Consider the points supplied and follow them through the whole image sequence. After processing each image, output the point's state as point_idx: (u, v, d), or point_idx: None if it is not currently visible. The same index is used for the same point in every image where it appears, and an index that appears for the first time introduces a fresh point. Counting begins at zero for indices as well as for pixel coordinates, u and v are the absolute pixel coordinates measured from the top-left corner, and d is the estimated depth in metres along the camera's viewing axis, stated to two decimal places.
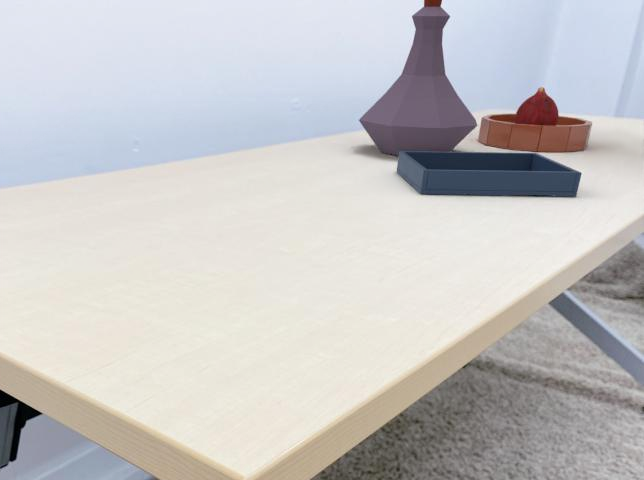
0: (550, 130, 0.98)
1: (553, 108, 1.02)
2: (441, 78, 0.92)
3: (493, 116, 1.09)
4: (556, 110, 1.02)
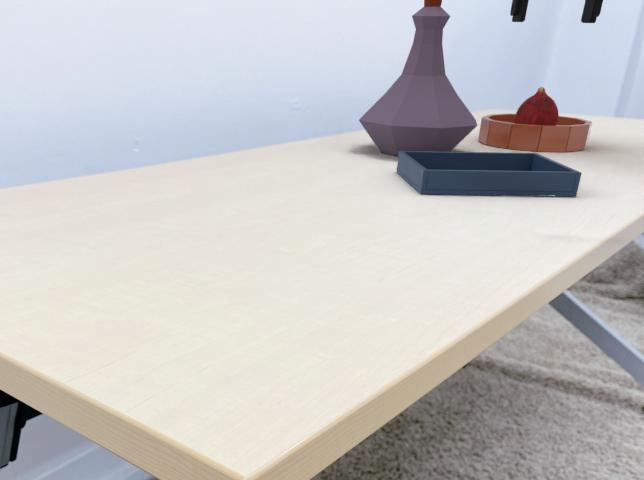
0: (550, 130, 0.98)
1: (553, 108, 1.02)
2: (441, 78, 0.92)
3: (493, 116, 1.09)
4: (556, 110, 1.02)
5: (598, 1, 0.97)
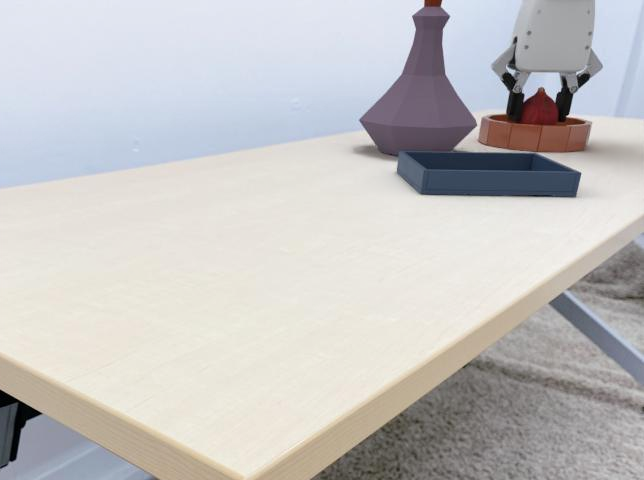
0: (550, 130, 0.98)
1: (553, 108, 1.02)
2: (441, 78, 0.92)
3: (493, 116, 1.09)
4: (556, 110, 1.02)
5: (567, 103, 1.02)
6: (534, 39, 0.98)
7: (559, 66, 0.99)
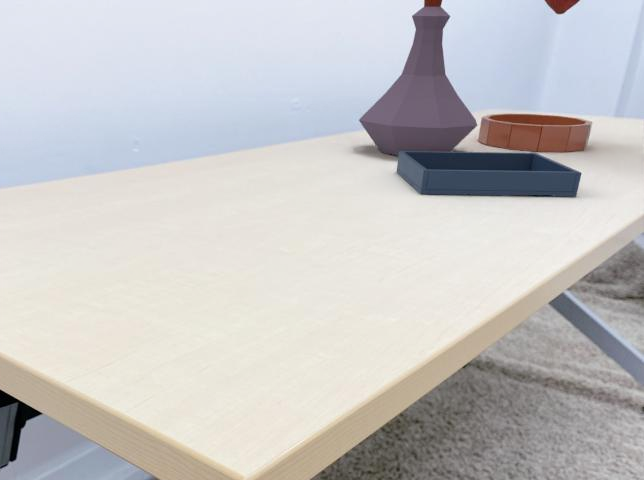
0: (550, 130, 0.98)
1: None
2: (441, 78, 0.92)
3: (493, 116, 1.09)
4: None
5: None
6: None
7: None
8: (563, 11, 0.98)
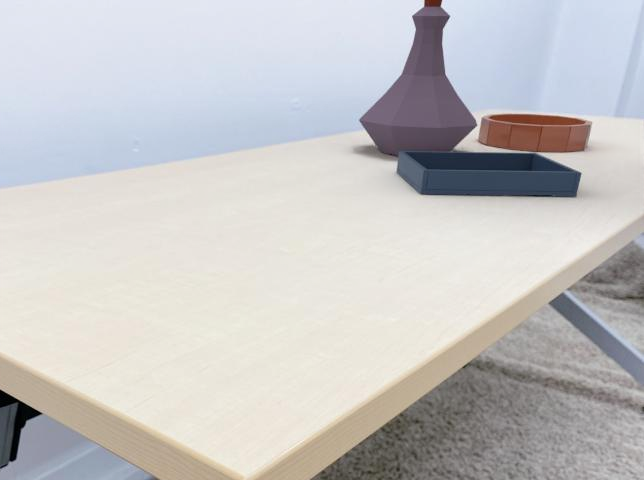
0: (550, 130, 0.98)
1: None
2: (441, 78, 0.92)
3: (493, 116, 1.09)
4: None
5: None
6: None
7: None
8: None
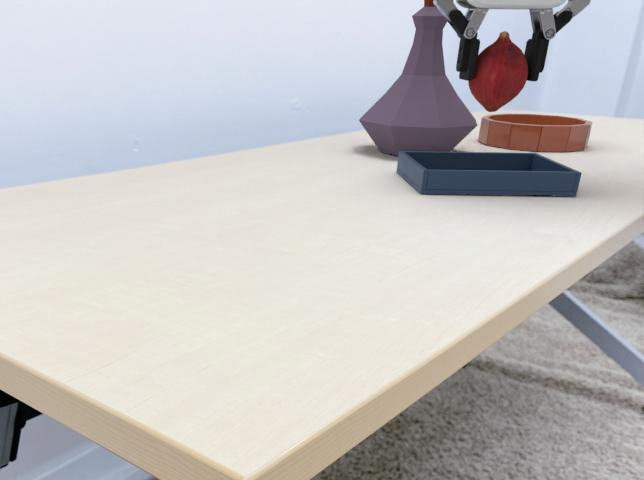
0: (550, 130, 0.98)
1: (521, 60, 0.72)
2: (441, 78, 0.92)
3: (493, 116, 1.09)
4: (524, 63, 0.72)
5: (540, 53, 0.72)
6: None
7: None
8: (495, 109, 0.75)
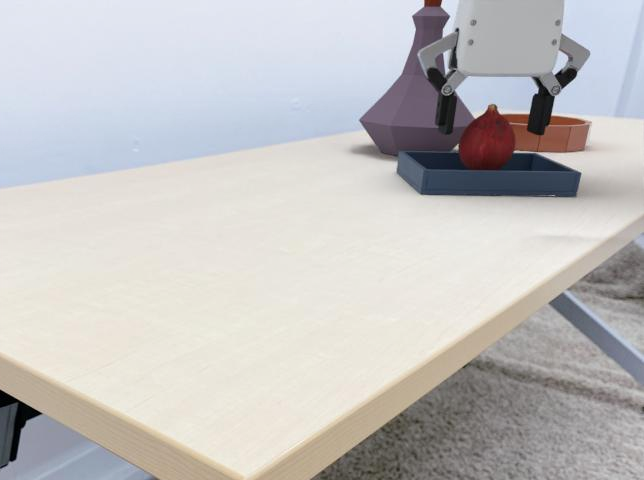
0: (550, 130, 0.98)
1: (508, 132, 0.75)
2: None
3: None
4: (512, 135, 0.75)
5: (546, 109, 0.74)
6: (481, 31, 0.71)
7: (517, 68, 0.72)
8: None
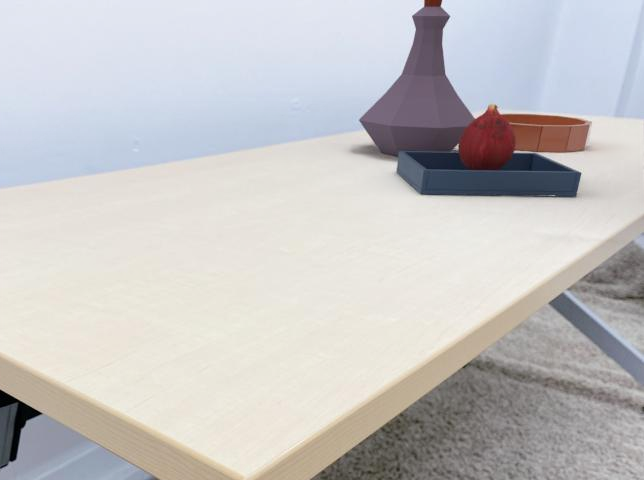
0: (550, 130, 0.98)
1: (508, 132, 0.75)
2: (441, 78, 0.92)
3: None
4: (512, 135, 0.75)
5: None
6: None
7: None
8: None
